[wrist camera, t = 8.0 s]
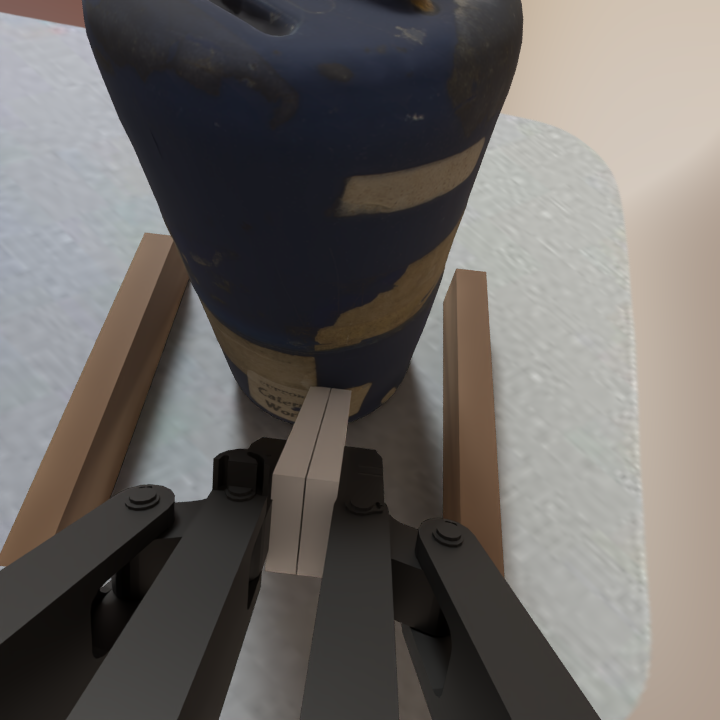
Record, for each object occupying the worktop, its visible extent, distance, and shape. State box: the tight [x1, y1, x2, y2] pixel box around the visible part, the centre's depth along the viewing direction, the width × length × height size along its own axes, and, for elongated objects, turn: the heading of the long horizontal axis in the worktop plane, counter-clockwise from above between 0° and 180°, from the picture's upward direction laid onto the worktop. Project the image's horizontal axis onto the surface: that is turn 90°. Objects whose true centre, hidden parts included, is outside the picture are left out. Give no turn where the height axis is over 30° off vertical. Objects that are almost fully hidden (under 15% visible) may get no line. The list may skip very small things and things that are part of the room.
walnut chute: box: [0, 233, 504, 577], centre depth 21 cm, size 18×16×3 cm
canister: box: [82, 0, 523, 424], centre depth 16 cm, size 10×10×18 cm
